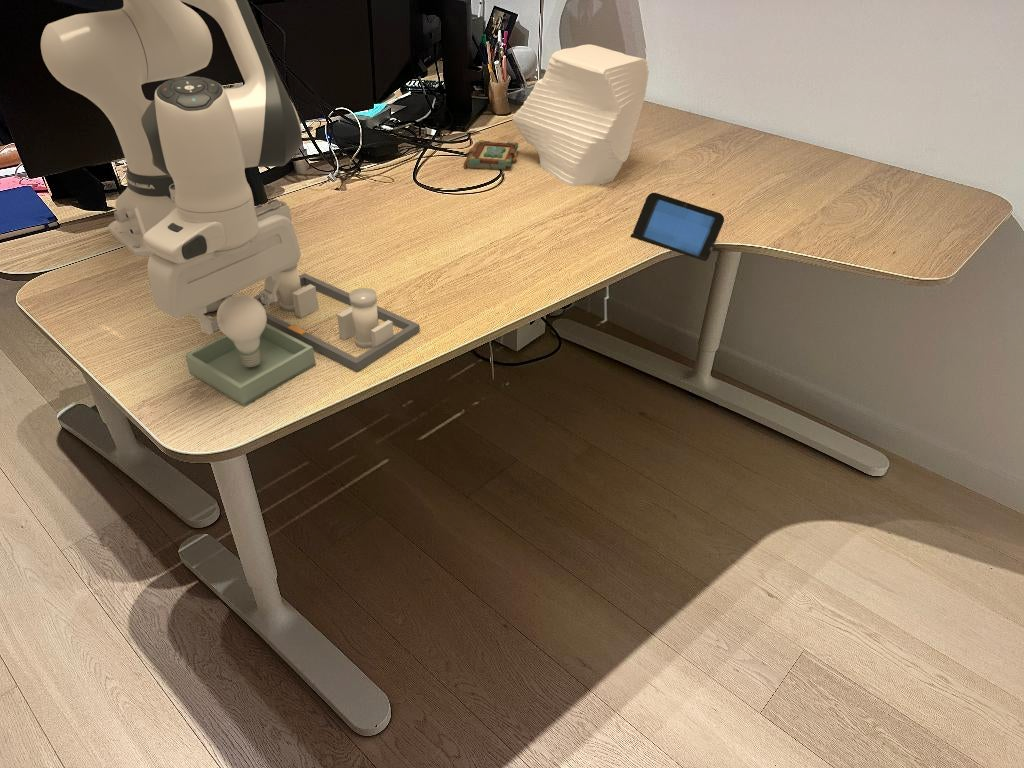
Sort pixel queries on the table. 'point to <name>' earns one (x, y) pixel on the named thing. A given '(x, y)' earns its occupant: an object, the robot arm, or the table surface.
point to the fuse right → (364, 315)
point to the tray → (244, 383)
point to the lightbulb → (243, 326)
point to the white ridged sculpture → (584, 113)
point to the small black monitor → (678, 226)
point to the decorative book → (491, 155)
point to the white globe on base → (288, 287)
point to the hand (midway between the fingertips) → (241, 316)
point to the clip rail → (343, 325)
